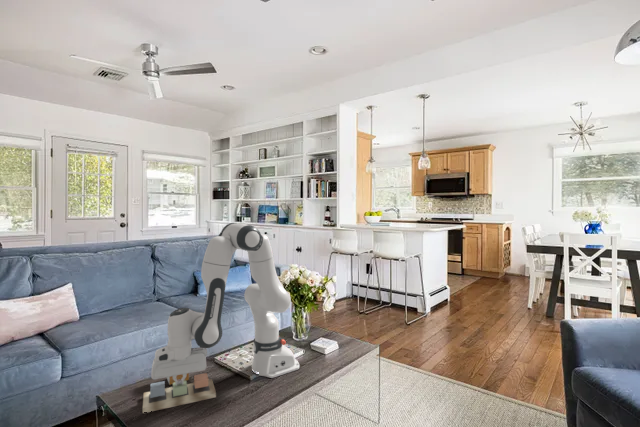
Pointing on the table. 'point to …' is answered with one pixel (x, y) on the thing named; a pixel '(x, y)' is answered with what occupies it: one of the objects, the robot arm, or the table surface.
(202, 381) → the terracotta button
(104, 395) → the table surface
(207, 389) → the button board
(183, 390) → the sage button
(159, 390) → the slate button
